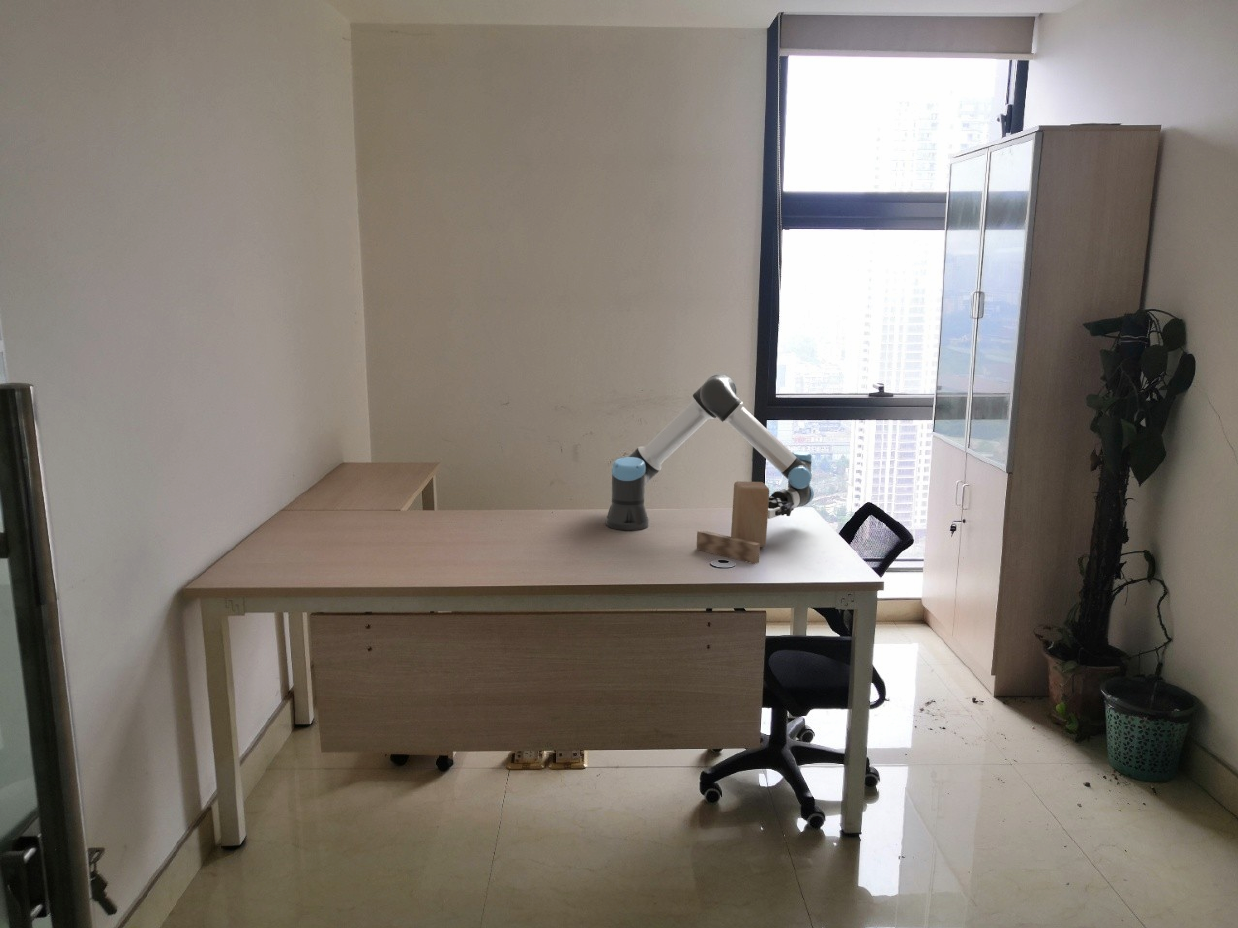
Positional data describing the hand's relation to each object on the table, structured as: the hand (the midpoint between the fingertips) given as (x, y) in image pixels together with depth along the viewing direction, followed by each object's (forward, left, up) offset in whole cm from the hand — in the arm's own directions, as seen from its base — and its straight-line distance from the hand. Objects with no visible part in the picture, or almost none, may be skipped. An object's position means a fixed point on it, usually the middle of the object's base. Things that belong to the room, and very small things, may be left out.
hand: (751, 510), depth 294 cm
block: (0, -1, -11) cm, 11 cm away
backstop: (+1, -15, -12) cm, 19 cm away
